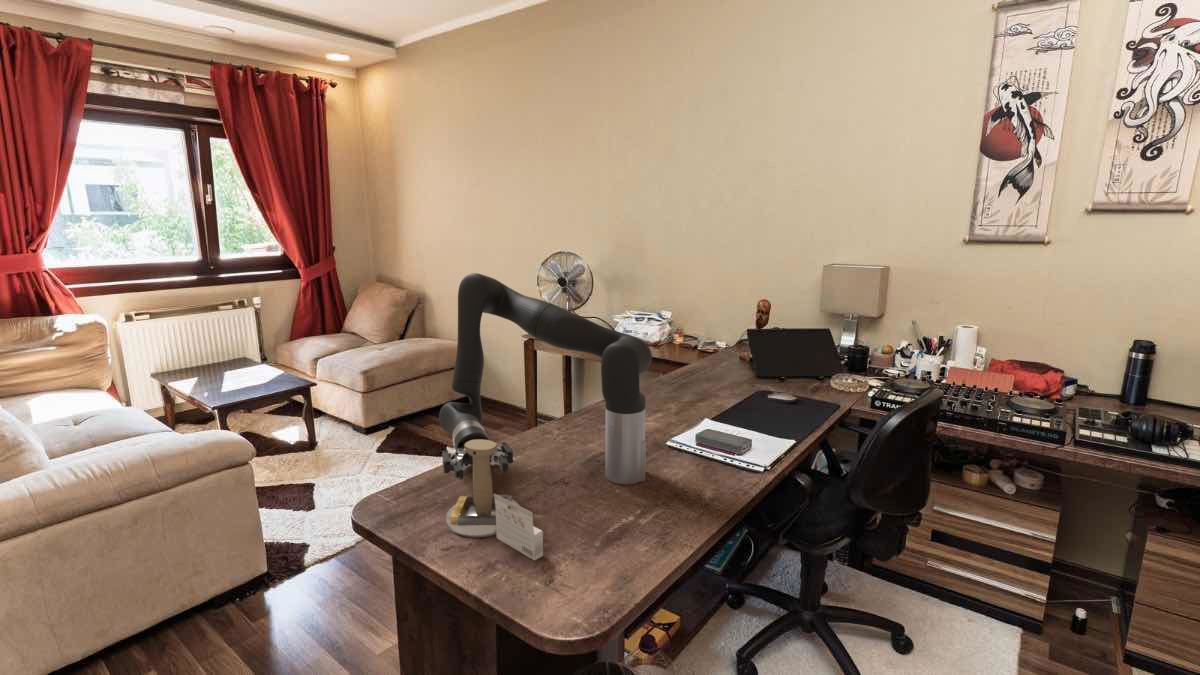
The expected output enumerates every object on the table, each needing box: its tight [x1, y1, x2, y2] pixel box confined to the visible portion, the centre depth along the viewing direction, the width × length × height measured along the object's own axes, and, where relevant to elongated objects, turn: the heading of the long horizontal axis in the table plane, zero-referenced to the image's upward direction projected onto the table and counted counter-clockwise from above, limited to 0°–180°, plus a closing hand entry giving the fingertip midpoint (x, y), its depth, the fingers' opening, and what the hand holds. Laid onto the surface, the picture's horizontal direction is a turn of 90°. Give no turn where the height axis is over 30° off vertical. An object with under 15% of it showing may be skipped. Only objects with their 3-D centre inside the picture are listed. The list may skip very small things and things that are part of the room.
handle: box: [464, 439, 498, 516], centre depth 117 cm, size 5×6×15 cm
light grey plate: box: [445, 494, 520, 538], centre depth 119 cm, size 15×15×2 cm
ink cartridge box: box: [493, 493, 544, 561], centre depth 107 cm, size 2×11×10 cm, turn 48°
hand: (483, 471), depth 115 cm, fingers open, 8 cm apart
